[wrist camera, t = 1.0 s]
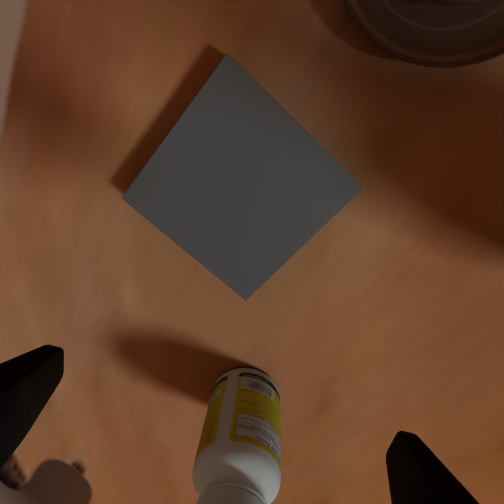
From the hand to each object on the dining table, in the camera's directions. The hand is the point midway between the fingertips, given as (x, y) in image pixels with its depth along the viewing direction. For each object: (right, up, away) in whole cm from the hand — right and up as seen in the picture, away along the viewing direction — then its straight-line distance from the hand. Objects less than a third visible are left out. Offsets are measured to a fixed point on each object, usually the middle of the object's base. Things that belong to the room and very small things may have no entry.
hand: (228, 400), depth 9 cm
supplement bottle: (0, -7, +18) cm, 19 cm away
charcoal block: (0, +8, +12) cm, 15 cm away
